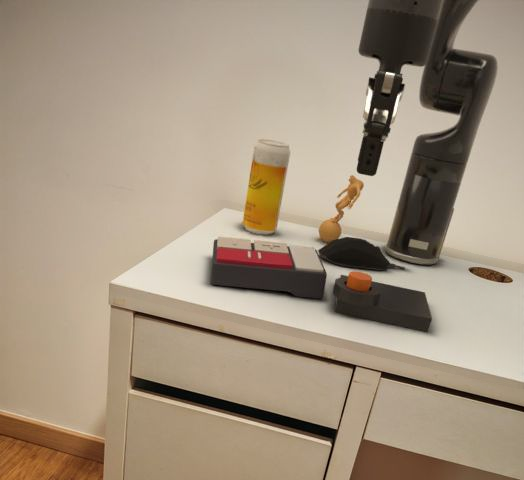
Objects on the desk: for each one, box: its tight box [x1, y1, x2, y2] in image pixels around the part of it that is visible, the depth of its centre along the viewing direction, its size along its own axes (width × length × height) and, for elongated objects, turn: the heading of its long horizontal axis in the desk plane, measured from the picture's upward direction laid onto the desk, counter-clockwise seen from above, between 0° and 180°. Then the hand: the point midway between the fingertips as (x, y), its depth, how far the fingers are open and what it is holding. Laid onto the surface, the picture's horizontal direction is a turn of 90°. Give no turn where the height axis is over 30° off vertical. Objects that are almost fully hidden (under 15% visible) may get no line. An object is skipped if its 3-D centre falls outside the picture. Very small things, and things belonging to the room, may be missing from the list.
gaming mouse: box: [317, 236, 406, 271], centre depth 95 cm, size 6×15×4 cm, turn 95°
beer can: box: [242, 138, 291, 236], centre depth 100 cm, size 6×6×15 cm
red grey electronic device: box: [210, 236, 328, 299], centre depth 81 cm, size 11×4×15 cm
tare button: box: [346, 270, 373, 291], centre depth 74 cm, size 3×3×2 cm
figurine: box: [318, 174, 365, 243], centre depth 102 cm, size 8×6×12 cm
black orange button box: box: [332, 274, 433, 333], centre depth 77 cm, size 11×13×4 cm
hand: (365, 169), depth 69 cm, fingers open, 8 cm apart
